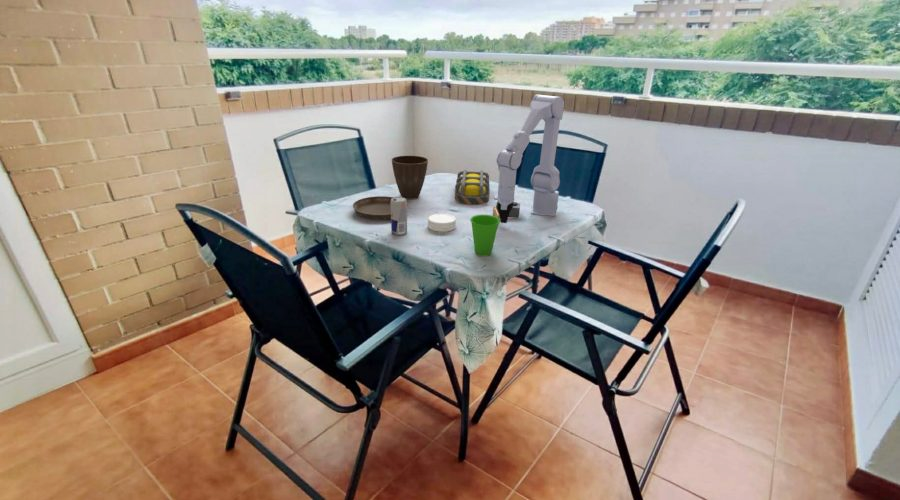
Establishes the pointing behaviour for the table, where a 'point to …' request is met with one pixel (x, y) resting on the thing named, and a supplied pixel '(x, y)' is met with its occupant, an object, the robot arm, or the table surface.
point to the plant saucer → (374, 207)
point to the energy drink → (398, 215)
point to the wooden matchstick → (495, 212)
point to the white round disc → (441, 222)
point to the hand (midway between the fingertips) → (503, 222)
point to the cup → (484, 233)
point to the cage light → (472, 188)
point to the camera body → (513, 210)
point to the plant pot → (409, 175)
